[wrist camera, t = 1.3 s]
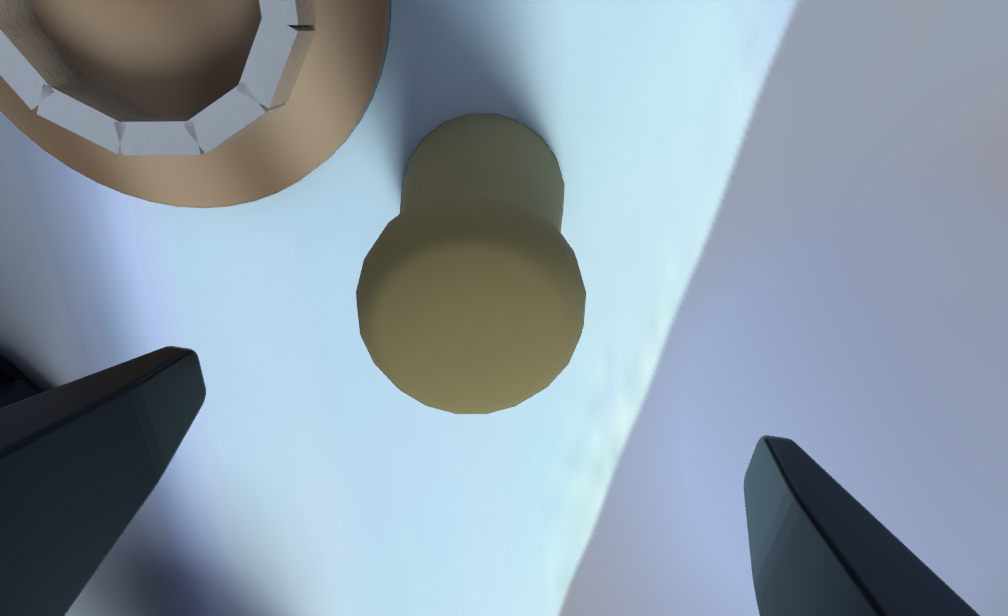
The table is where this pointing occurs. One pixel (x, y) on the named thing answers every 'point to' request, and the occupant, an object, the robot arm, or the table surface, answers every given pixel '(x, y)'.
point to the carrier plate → (208, 91)
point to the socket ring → (131, 130)
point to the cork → (474, 271)
